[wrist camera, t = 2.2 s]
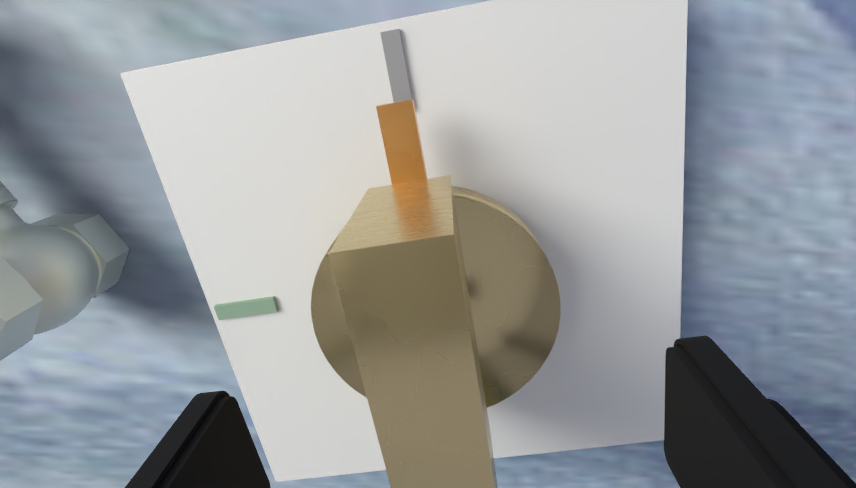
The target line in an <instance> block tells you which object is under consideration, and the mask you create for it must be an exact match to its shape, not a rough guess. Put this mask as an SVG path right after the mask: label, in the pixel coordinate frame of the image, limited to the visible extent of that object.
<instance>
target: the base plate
mask: <svg viewBox="0 0 856 488" xmlns="http://www.w3.org/2000/svg"><path fill="white" fill-rule="evenodd" d="M687 10H688V0H491V1H486V2H481V3H476V4H471V5H466V6H460V7H455V8H450V9H445V10H440V11H435V12H430V13H425V14H420V15H414V16H409V17H404V18H399V19H394V20H389V21H384V22H379V23H374V24H368V25H363V26H358V27H353V28H348V29H343V30H338V31H333V32H327V33H322V34H317V35H312V36H307V37H302V38H297V39H292V40H287V41H281V42H276V43H271V44H266V45H261V46H256V47H251V48H246V49H241V50H235V51H230V52H225V53H220V54H215V55H210V56H205V57H200V58H194V59H189V60H184V61H179V62H174V63H169V64H164V65H159V66H154V67H148V68H143V69H138V70H133V71H128V72H123V73H120V74H121V77H122V79H123V82H124V85H125V87H126V90H127V92H128V95H129V98H130V100H131V103H132V106H133V108H134V111H135V113H136V116H137V119H138V121H139V124H140V126H141V129H142V132H143V134H144V137H145V140H146V142H147V145H148V147H149V150H150V153H151V155H152V158H153V161H154V163H155V166H156V168H157V171H158V174H159V176H160V179H161V182H162V184H163V187H164V189H165V192H166V195H167V197H168V200H169V203H170V205H171V208H172V210H173V213H174V216H175V218H176V221H177V223H178V226H179V229H180V231H181V234H182V237H183V239H184V242H185V244H186V247H187V250H188V252H189V255H190V258H191V260H192V263H193V265H194V268H195V271H196V273H197V276H198V279H199V281H200V284H201V286H202V289H203V292H204V294H205V297H206V300H207V302H208V305H209V307H210V310H211V313H212V315H213V318H214V320H215V323H216V326H217V328H218V331H219V334H220V336H221V339H222V341H223V344H224V347H225V349H226V352H227V355H228V357H229V360H230V362H231V365H232V368H233V370H234V373H235V376H236V378H237V381H238V383H239V386H240V389H241V391H242V394H243V396H244V399H245V402H246V404H247V407H248V410H249V412H250V415H251V417H252V420H253V423H254V425H255V428H256V431H257V433H258V436H259V438H260V441H261V444H262V446H263V449H264V452H265V454H266V457H267V459H268V462H269V465H270V467H271V470H272V473H273V475H274V478H275V480H276V482H278V481H288V480H297V479H306V478H316V477H325V476H334V475H344V474H353V473H362V472H372V471H381V470H386V467H385V463H384V460H383V456H382V452H381V448H380V445H379V441H378V437H377V433H376V430H375V426H374V422H373V418H372V415H371V411H370V407H369V403H368V400H367V398H366V397H364V396H363V395H361V394H360V393H358V392H357V391H355V390H354V389H353V388H352V387H351V386H349V385H348V384H347V383H346V382H345V381H344V380H343V379H342V378H341V377H340V376H339V375H338V374H337V373H336V372H335V371H334V369H333V368H332V366H331V365H330V364H329V362H328V361H327V359H326V358H325V356H324V354H323V352H322V350H321V348H320V346H319V344H318V341H317V338H316V336H315V332H314V328H313V323H312V316H311V296H312V288H313V284H314V280H315V276H316V273H317V271H318V268H319V266H320V263H321V261H322V260H323V258H324V256H325V254H326V253H327V251H328V249H329V248H330V246H331V244H332V243H333V241H334V240H335V238H336V237H337V235H338V233H339V232H340V231H341V230H342V228H343V227H344V226H345V224H346V223H347V222H348V221H349V219H350V217H351V216H352V214H353V213H354V211H355V209H356V208H357V206H358V204H359V203H360V201H361V200H362V198H363V196H364V195H365V193H366V192H367V190H368V189H369V188H375V187H381V186H387V185H392V183H391V178H390V173H389V168H388V163H387V158H386V153H385V148H384V143H383V138H382V134H381V129H380V124H379V119H378V114H377V109H376V106H378V105H381V104H387V103H392V102H398V101H403V100H409V99H414V105H415V111H416V116H417V122H418V128H419V133H420V139H421V145H422V150H423V156H424V162H425V168H426V173H427V179H430V178H436V177H442V176H448V175H450V177H451V184H452V186H456V187H462V188H466V189H469V190H473V191H476V192H479V193H482V194H484V195H486V196H488V197H491V198H493V199H495V200H496V201H498V202H499V203H501V204H503V205H504V206H506V207H507V208H509V209H510V210H511V211H512V212H514V213H515V214H516V215H517V216H518V217H519V218H520V219H521V220H522V221H523V222H524V223H525V224H526V225H527V226H528V227H529V229H530V230H531V232H532V233H533V234H534V236H535V237H536V239H537V240H538V242H539V244H540V246H541V248H542V250H543V251H544V253H545V255H546V257H547V259H548V261H549V263H550V265H551V267H552V269H553V271H554V274H555V277H556V281H557V284H558V288H559V294H560V304H561V315H560V322H559V329H558V333H557V336H556V339H555V343H554V345H553V347H552V349H551V351H550V354H549V356H548V357H547V359H546V361H545V362H544V364H543V365H542V367H541V368H540V369H539V371H538V372H537V373H536V374H535V375H534V377H533V378H532V379H531V380H530V381H529V382H528V383H526V384H525V385H524V386H523V387H522V388H521V389H520V390H518V391H517V392H515V393H514V394H513V395H511V396H510V397H508V398H506V399H505V400H503V401H501V402H499V403H497V404H495V405H493V406H490V407H488V408H487V412H488V418H489V425H490V433H491V441H492V448H493V456H494V458H503V457H512V456H521V455H531V454H540V453H549V452H559V451H568V450H577V449H587V448H596V447H605V446H615V445H624V444H633V443H643V442H652V441H662V440H664V419H665V358H666V349H667V348H668V347H674V342H675V340H677V339H680V325H681V280H682V235H683V190H684V145H685V100H686V55H687Z"/></svg>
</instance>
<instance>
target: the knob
mask: <svg viewBox="0 0 856 488" xmlns="http://www.w3.org/2000/svg"><path fill="white" fill-rule="evenodd" d="M376 109H377V114H378V119H379V124H380V129H381V134H382V138H383V143H384V148H385V153H386V158H387V163H388V168H389V173H390V178H391V183H392V185H387V186H381V187H375V188H369V189H368V190H367V192H366V193H365V195H364V196H363V198H362V200H361V201H360V203H359V204H358V206H357V208H356V209H355V211H354V213H353V214H352V216H351V217H350V219H349V221H348V222H347V223H346V224H345V226H344V227H343V228H342V230H341V231H340V232H339V233H338V235H337V237H336V238H335V240H334V241H333V243H332V244H331V246H330V248H329V249H328V251H327V253H326V254H325V256H324V258H323V260H322V261H321V263H320V266H319V268H318V271H317V273H316V276H315V280H314V284H313V288H312V296H311V316H312V323H313V328H314V332H315V336H316V338H317V341H318V344H319V346H320V348H321V350H322V352H323V354H324V356H325V358H326V359H327V361H328V362H329V364H330V365H331V366H332V368H333V369H334V371H335V372H336V373H337V374H338V375H339V376H340V377H341V378H342V379H343V380H344V381H345V382H346V383H347V384H348V385H349V386H351V387H352V388H353V389H354V390H355V391H357V392H358V393H360V394H361V395H363V396H364V397H366V398H367V400H368V403H369V407H370V411H371V415H372V418H373V422H374V426H375V430H376V433H377V437H378V441H379V445H380V448H381V452H382V456H383V460H384V463H385V467H386V471H387V475H388V478H389V482H390V486H391V488H498V487H497V479H496V472H495V464H494V456H493V448H492V441H491V433H490V425H489V418H488V412H487V408H488V407H490V406H493V405H495V404H497V403H499V402H501V401H503V400H505V399H506V398H508V397H510V396H511V395H513V394H514V393H515V392H517V391H518V390H520V389H521V388H522V387H523V386H524V385H525V384H526V383H528V382H529V381H530V380H531V379H532V378H533V377H534V375H535V374H536V373H537V372H538V371H539V369H540V368H541V367H542V365H543V364H544V362H545V361H546V359H547V357H548V356H549V354H550V351H551V349H552V347H553V345H554V343H555V339H556V336H557V333H558V329H559V322H560V315H561V304H560V294H559V288H558V284H557V281H556V277H555V274H554V271H553V269H552V267H551V265H550V263H549V261H548V259H547V257H546V255H545V253H544V251H543V250H542V248H541V246H540V244H539V242H538V240H537V239H536V237H535V236H534V234H533V233H532V232H531V230H530V229H529V227H528V226H527V225H526V224H525V223H524V222H523V221H522V220H521V219H520V218H519V217H518V216H517V215H516V214H515V213H514V212H512V211H511V210H510V209H509V208H507V207H506V206H504V205H503V204H501V203H499V202H498V201H496V200H495V199H493V198H491V197H488V196H486V195H484V194H482V193H479V192H476V191H473V190H469V189H466V188H462V187H456V186H452V184H451V177H450V175H448V176H442V177H436V178H430V179H427V173H426V168H425V162H424V156H423V150H422V145H421V139H420V133H419V128H418V122H417V116H416V111H415V105H414V99H409V100H403V101H398V102H392V103H387V104H381V105H378V106H376Z"/></svg>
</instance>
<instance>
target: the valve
mask: <svg viewBox="0 0 856 488" xmlns="http://www.w3.org/2000/svg"><path fill="white" fill-rule="evenodd" d="M17 203H18V200H17V199H16V198H15V197H14V196H13V195H12V194H11V193H10V191H9V190H8V189H7V188H6V187H5V186H4V185H3V184H2V182H1V181H0V361H1V360H2V359H4V358H5V357H7V356H8V355H10V354H11V353H13V352H14V351H16V350H17V349H19V348H20V347H22V346H23V345H25V344H26V343H28V342H29V341H31V340H32V338H33V335H34V334H39V333H43V332H46V331H49V330H52V329H54V328H57V327H59V326H61V325H63V324H65V323H67V322H68V321H70V320H71V319H73V318H74V317H75V316H77V315H78V314H79V313H80V312H81V311H82V310H83V309H84V308H85V307H86V306H87V304H88V303H89V301H90V300H91V299H92V298H95V297H97V296H98V295H100V294H101V293H103V292H104V291H106V290H107V289H109V288H110V287H112V286H113V285H115V284H116V283H118V281H119V278H120V276H121V273H122V270H123V267H124V264H125V261H126V259H127V256H128V253H129V250H130V249H129V248H128V246H127V245H126V244H125V243H124V242H123V241H122V239H121V238H120V237H119V236H118V235H117V234H116V232H115V231H114V230H113V229H112V228H111V227H110V226H109V224H108V223H107V222H106V221H105V220H104V219H103V217H102V216H101V215H100V214H55V215H53V216H50V217H47V218H45V219H42V220H40V221H37V222H34V223H32V224H28V223H26V222H24V221H23V220H22V219H21V218H20V217H19V216H18V215H17V214H16V213H15V211H14V210H13V208H14V207H15V206H16V205H17Z"/></svg>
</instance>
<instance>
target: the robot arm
mask: <svg viewBox="0 0 856 488" xmlns="http://www.w3.org/2000/svg"><path fill="white" fill-rule="evenodd" d="M664 451H665V456H666V459H667V462H668V465H669V467H670V469H671V471H672V473H673V474H674V476H675V478H676V480H677V482H678V484H679V486H680V488H856V484H855V482H854V481H853V480H852V479H851V478H850V477H849V476H848V475H847V474H846V473H845V472H844V471H843V470H842V469H841V468H840V467H839V466H838V465H837V464H836V462H835V461H834V460H833V459H832V458H831V457H830V456H829V455H828V454H827V453H826V452H825V451H824V450H823V449H822V448H821V447H820V446H819V445H818V443H817V442H816V441H815V440H814V439H813V438H812V437H811V436H810V435H809V434H808V433H807V432H806V431H805V430H804V429H803V428H802V427H801V426H800V424H799V423H798V422H797V421H796V420H795V419H794V418H793V417H792V416H791V415H790V414H789V413H788V412H787V411H786V410H785V409H784V408H783V407H782V406H781V405H780V404H779V403H777V402H776V401H774V400H771V399H766V398H765V397H764V396H763V394H762V393H761V392H760V391H759V390H758V389H757V388H756V387H755V386H754V385H753V384H752V383H751V381H750V380H749V379H748V378H747V377H746V376H745V375H744V374H743V373H742V372H741V371H740V370H739V368H738V367H737V366H736V365H735V364H734V363H733V362H732V361H731V360H730V359H729V358H728V357H727V355H726V354H725V353H724V352H723V351H722V350H721V349H720V348H719V347H718V346H717V345H716V344H715V342H714V341H713V340H712V339H711V338H709V337H708V336H699V337H690V338H681V339H677V340H675V342H674V347H668V348H667V349H666V358H665V419H664ZM125 488H270V483H269V480H268V478H267V475H266V473H265V470H264V468H263V465H262V463H261V460H260V458H259V455H258V453H257V450H256V448H255V445H254V443H253V440H252V438H251V435H250V433H249V430H248V428H247V425H246V423H245V420H244V418H243V415H242V413H241V410H240V408H239V405H238V403H237V401H236V399H235V398H234V397H230V396H229V394H228V393H227V392H226V391H216V392H208V393H200V394H197V395H196V396H195V397H194V398H193V399H192V400H191V402H190V403H189V404H188V406H187V407H186V408H185V410H184V411H183V412H182V414H181V415H180V416H179V417H178V419H177V420H176V421H175V423H174V424H173V425H172V427H171V428H170V429H169V431H168V432H167V433H166V435H165V436H164V437H163V438H162V440H161V441H160V442H159V444H158V445H157V446H156V448H155V449H154V450H153V452H152V453H151V454H150V456H149V457H148V458H147V459H146V461H145V462H144V463H143V465H142V466H141V467H140V469H139V470H138V471H137V473H136V474H135V475H134V477H133V478H132V479H131V481H130V482H129V483H128V484H127V486H126V487H125Z"/></svg>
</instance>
